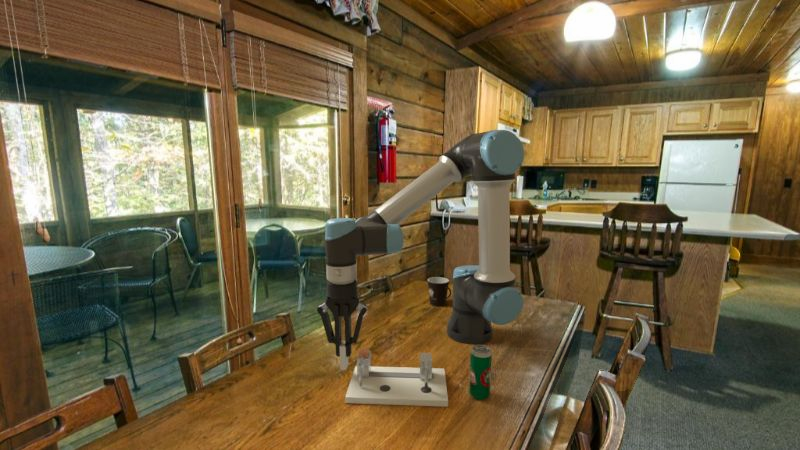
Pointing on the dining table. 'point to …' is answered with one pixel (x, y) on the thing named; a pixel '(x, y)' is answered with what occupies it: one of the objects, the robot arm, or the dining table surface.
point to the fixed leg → (426, 367)
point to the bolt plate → (398, 387)
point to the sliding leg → (363, 364)
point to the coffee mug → (438, 291)
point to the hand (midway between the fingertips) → (344, 367)
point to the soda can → (480, 372)
